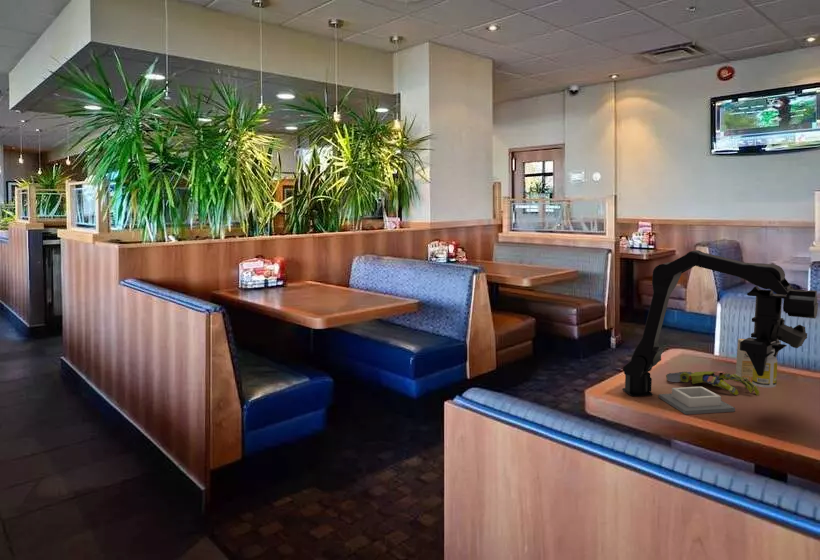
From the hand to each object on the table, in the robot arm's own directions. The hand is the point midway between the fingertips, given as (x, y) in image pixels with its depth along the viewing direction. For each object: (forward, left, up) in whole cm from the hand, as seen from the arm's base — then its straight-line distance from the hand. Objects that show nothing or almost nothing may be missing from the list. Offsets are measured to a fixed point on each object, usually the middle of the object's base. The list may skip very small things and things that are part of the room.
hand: (764, 373), depth 154 cm
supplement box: (+18, +29, -12) cm, 36 cm away
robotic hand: (+2, +25, -12) cm, 28 cm away
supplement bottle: (0, 0, -3) cm, 3 cm away
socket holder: (-11, +12, -12) cm, 20 cm away
